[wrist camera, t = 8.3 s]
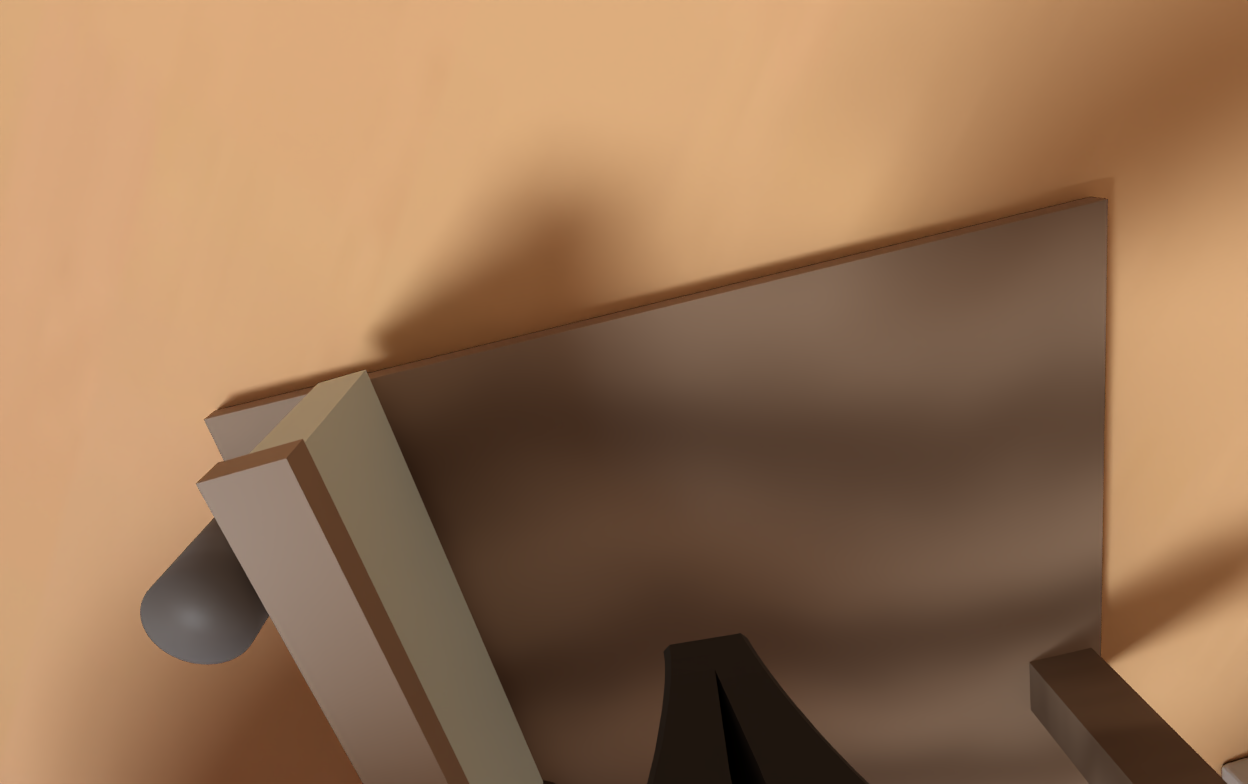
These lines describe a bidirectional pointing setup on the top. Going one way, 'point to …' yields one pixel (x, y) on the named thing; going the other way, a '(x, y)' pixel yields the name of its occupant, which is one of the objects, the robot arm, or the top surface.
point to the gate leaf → (367, 594)
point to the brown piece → (779, 512)
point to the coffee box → (1236, 772)
